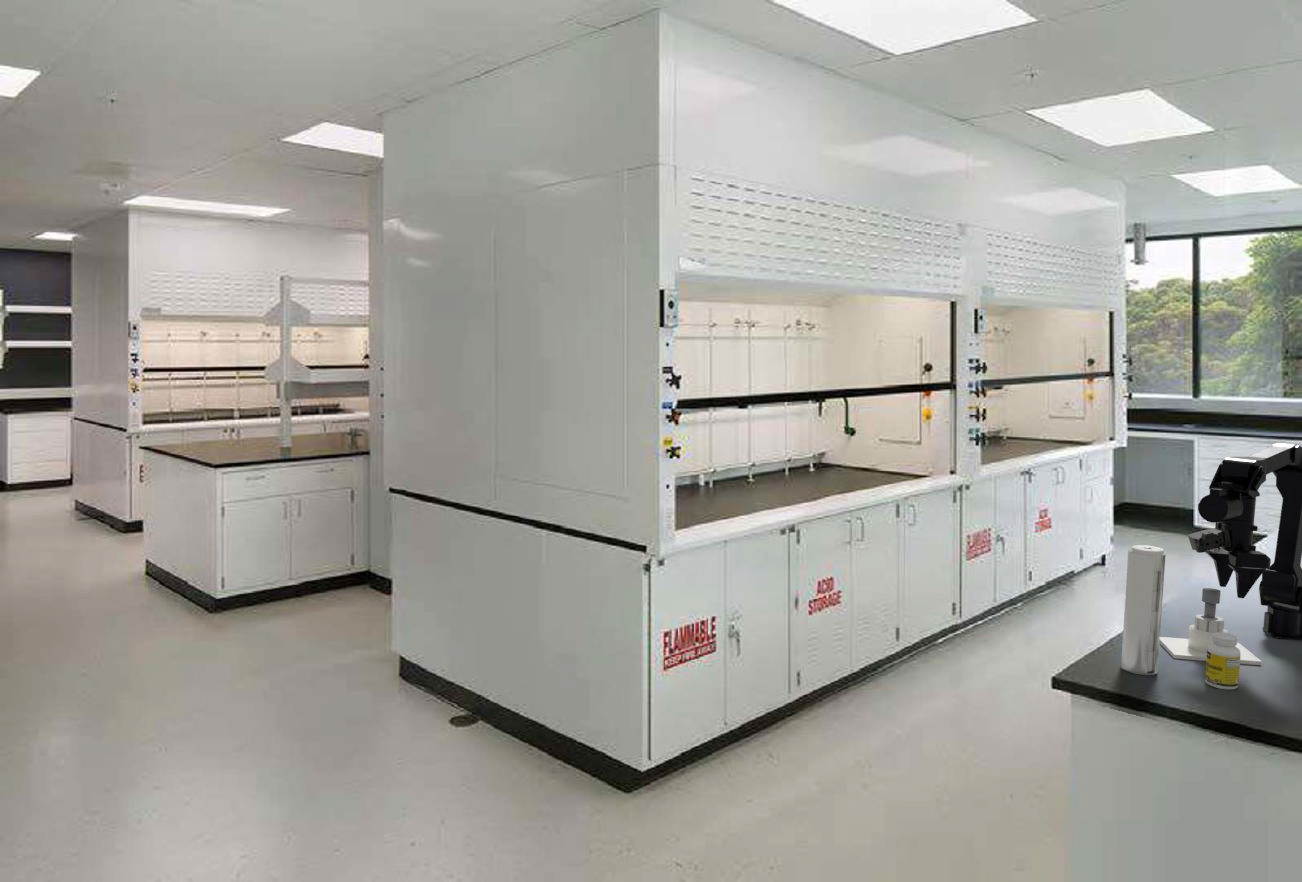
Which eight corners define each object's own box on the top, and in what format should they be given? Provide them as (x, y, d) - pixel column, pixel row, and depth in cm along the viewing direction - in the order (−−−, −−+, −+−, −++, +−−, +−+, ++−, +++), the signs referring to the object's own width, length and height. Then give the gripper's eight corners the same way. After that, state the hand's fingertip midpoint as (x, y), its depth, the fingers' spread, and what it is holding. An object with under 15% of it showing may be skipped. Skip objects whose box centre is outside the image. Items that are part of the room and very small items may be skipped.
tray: (1238, 646, 193) (1238, 642, 193) (1261, 665, 182) (1261, 661, 182) (1156, 640, 197) (1156, 636, 197) (1174, 658, 185) (1174, 654, 185)
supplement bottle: (1198, 680, 173) (1201, 631, 172) (1224, 679, 174) (1228, 630, 173) (1218, 690, 168) (1221, 640, 167) (1245, 690, 169) (1249, 639, 168)
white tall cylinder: (1154, 666, 181) (1162, 545, 178) (1160, 677, 175) (1169, 552, 172) (1118, 662, 183) (1125, 542, 180) (1123, 673, 177) (1131, 549, 174)
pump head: (1215, 615, 190) (1217, 588, 189) (1220, 619, 187) (1222, 592, 186) (1198, 614, 190) (1200, 587, 190) (1203, 618, 187) (1205, 591, 187)
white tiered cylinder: (1219, 644, 192) (1221, 614, 191) (1232, 655, 185) (1234, 624, 184) (1183, 641, 193) (1185, 611, 193) (1194, 652, 187) (1196, 621, 186)
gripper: (1178, 509, 196) (1173, 578, 198) (1211, 524, 178) (1205, 601, 179) (1235, 511, 194) (1229, 582, 195) (1274, 527, 175) (1268, 605, 177)
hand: (1231, 592), depth 187 cm, fingers open, 9 cm apart
